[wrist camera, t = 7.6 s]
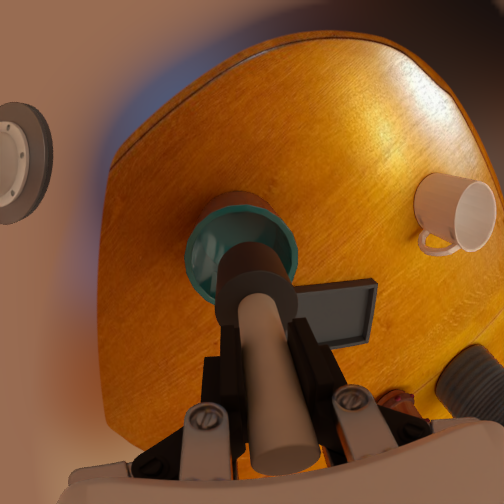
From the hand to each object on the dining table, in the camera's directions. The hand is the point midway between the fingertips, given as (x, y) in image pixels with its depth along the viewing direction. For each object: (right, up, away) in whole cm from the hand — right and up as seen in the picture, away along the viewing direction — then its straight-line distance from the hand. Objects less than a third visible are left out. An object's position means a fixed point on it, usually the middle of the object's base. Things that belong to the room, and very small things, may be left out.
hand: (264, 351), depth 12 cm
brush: (-1, +3, +8) cm, 9 cm away
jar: (-2, +6, +24) cm, 25 cm away
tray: (+10, -5, +29) cm, 31 cm away
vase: (+48, -24, +39) cm, 66 cm away
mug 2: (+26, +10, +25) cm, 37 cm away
